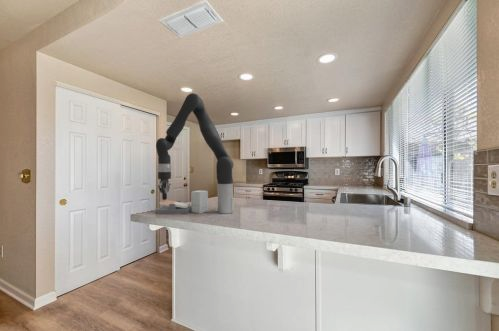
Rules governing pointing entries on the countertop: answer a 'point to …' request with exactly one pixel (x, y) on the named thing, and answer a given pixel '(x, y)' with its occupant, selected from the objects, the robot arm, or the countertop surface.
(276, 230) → the countertop surface
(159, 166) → the robot arm
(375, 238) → the countertop surface
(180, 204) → the breaker rocker
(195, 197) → the supplement box
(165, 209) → the breaker panel
